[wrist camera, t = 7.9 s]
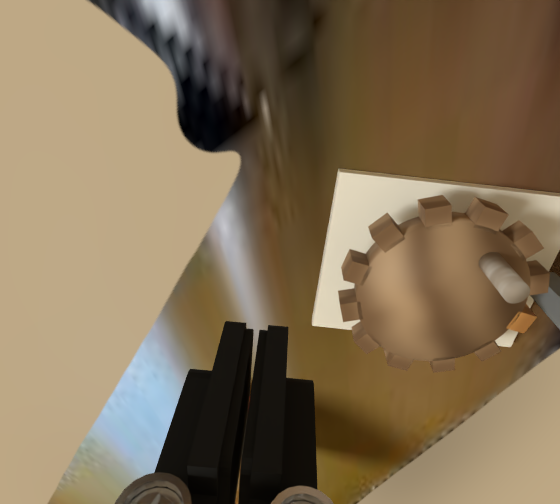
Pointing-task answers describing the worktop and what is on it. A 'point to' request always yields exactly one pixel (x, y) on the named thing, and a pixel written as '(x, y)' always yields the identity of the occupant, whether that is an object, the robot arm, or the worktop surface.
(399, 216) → the stand
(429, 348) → the sprocket
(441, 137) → the worktop surface
